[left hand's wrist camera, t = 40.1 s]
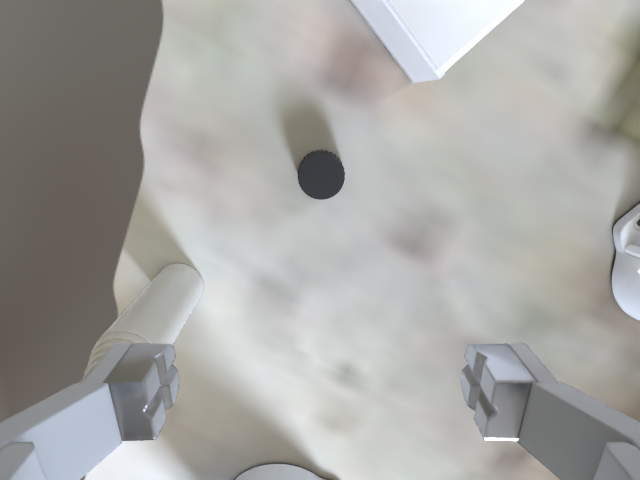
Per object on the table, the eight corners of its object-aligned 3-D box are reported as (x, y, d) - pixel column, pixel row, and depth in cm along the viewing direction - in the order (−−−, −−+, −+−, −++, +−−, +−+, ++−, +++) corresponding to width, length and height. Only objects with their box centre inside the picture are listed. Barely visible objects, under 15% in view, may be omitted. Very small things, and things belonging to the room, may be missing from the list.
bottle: (148, 287, 42) (34, 415, 25) (172, 254, 40) (68, 365, 24) (188, 312, 43) (104, 451, 26) (213, 281, 41) (140, 406, 25)
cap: (303, 198, 38) (302, 204, 36) (294, 154, 37) (293, 157, 35) (347, 190, 38) (348, 195, 36) (339, 145, 36) (340, 148, 34)
